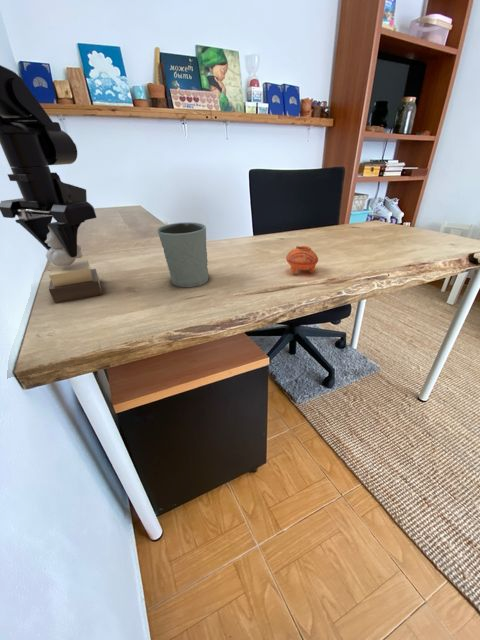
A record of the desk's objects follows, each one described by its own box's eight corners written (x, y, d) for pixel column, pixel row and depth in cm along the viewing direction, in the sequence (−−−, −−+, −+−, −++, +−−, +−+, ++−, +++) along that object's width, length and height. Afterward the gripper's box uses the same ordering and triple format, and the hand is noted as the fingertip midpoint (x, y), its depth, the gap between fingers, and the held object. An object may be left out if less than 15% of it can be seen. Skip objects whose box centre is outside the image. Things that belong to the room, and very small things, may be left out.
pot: (278, 267, 76) (285, 240, 72) (305, 271, 78) (313, 245, 75) (289, 277, 69) (296, 247, 66) (318, 281, 72) (326, 253, 68)
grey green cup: (209, 271, 75) (203, 221, 68) (214, 286, 67) (208, 230, 60) (168, 275, 73) (157, 224, 66) (168, 291, 65) (156, 234, 58)
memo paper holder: (102, 294, 64) (93, 269, 61) (54, 303, 60) (43, 277, 57) (99, 280, 70) (91, 257, 67) (56, 288, 67) (46, 264, 64)
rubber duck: (52, 263, 63) (36, 223, 58) (87, 259, 65) (73, 220, 60) (49, 271, 59) (30, 229, 54) (85, 266, 61) (70, 225, 56)
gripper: (105, 165, 55) (128, 249, 64) (37, 164, 61) (66, 242, 70) (50, 168, 47) (85, 265, 55) (-23, 167, 52) (19, 255, 61)
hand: (64, 255), depth 61 cm, fingers closed on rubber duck, 5 cm apart
